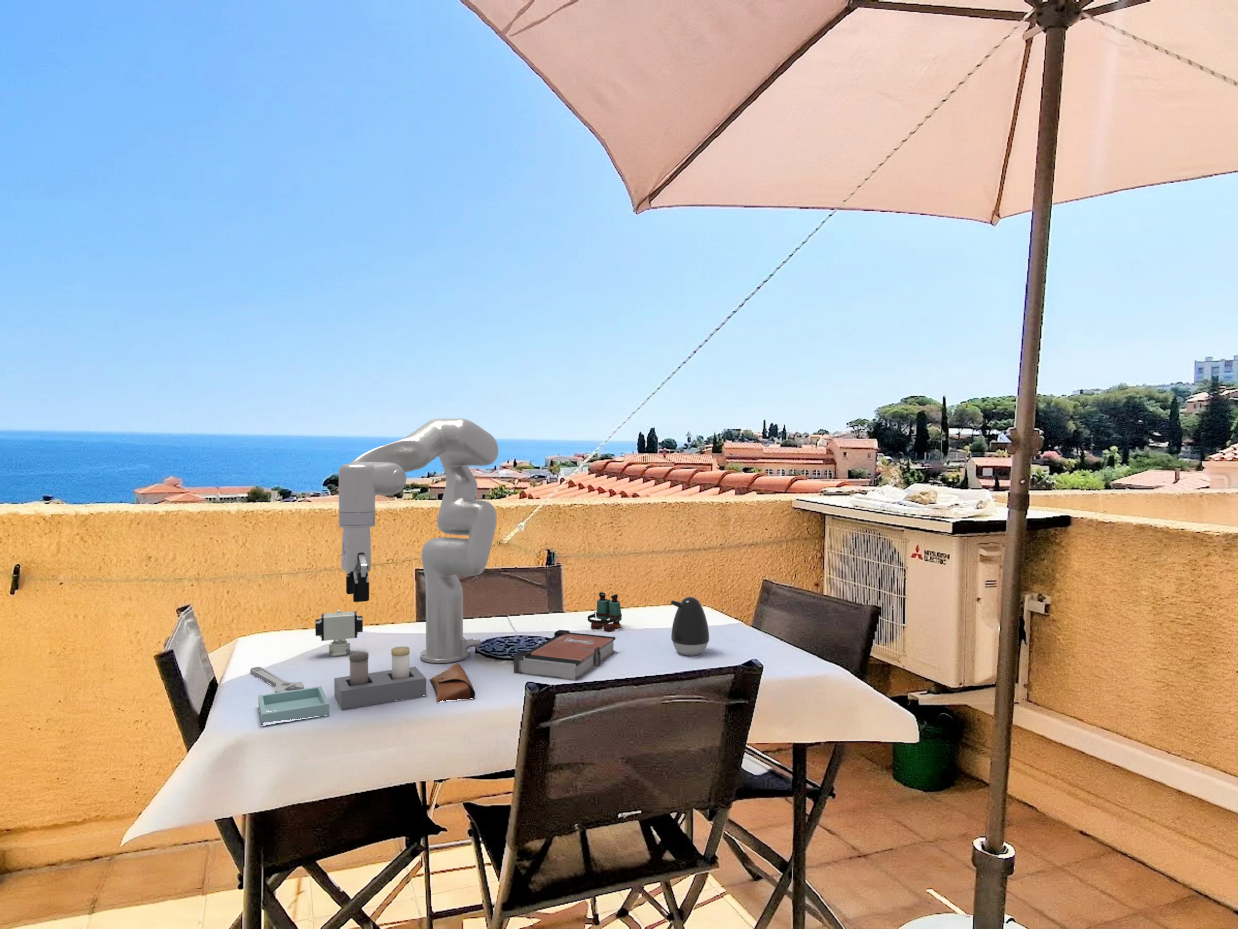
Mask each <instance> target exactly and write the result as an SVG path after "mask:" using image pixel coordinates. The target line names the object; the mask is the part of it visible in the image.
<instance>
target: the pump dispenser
mask: <svg viewBox="0 0 1238 929" xmlns="http://www.w3.org/2000/svg"><path fill="white" fill-rule="evenodd" d="M670 604H671V605H673V606H675V607H677V610H675V611H676V612H675V615H674V618H673V622H672V626H671V634H670V636H671V638H670V639H671V641H672V645H673V648H674V649H675V650H676V652H678V653H679V654H681V655H684V656H690V657H692V656H693V657H694V656H699V655H701V654H702V653H703V652H705V650H706V649H707V647H708V643H709V642H710V631H709V625H708V620H707V617H706V616H707V615H706V613H705V610H704V609H703V608H704V607H703V606H702V603H701V602H700V601H699V599H697V598H695V597H693V596H687V597H684V598H683V599H682V601H681V602H679V601H676V600H674V599H671V601H670Z"/></svg>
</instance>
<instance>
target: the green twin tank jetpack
mask: <svg viewBox="0 0 1238 929" xmlns="http://www.w3.org/2000/svg"><path fill="white" fill-rule="evenodd" d="M618 595H619V594H617V593H616V594H613V595H611V596H610V599H607V598H606V596H607V595H606V593H605V592H603V591H599V592H598V597H599V599H597V600H596V611H593V613H592V614H590V615H588V616H587V621H588V622H589V623H590V629H592V630H594V631H596V630H597V631H598V630H601V629H602V628H603V632H611V631H613V630H615V629H618V628H621V627H622V624H621V623H620V622H621V621H622V620H623V618H622V617H623V615H622V608H621V602H620V601H619V600H618V598H619V596H618ZM593 618H594V619H593Z"/></svg>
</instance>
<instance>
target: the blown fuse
mask: <svg viewBox="0 0 1238 929" xmlns="http://www.w3.org/2000/svg"><path fill="white" fill-rule="evenodd" d="M369 658H370V657H369V652H366V651H358V652H357V651H356V652H353V653H350V654H349V657H348V661H349V676H350V686H355V685H362V684H368V673H369Z"/></svg>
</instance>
